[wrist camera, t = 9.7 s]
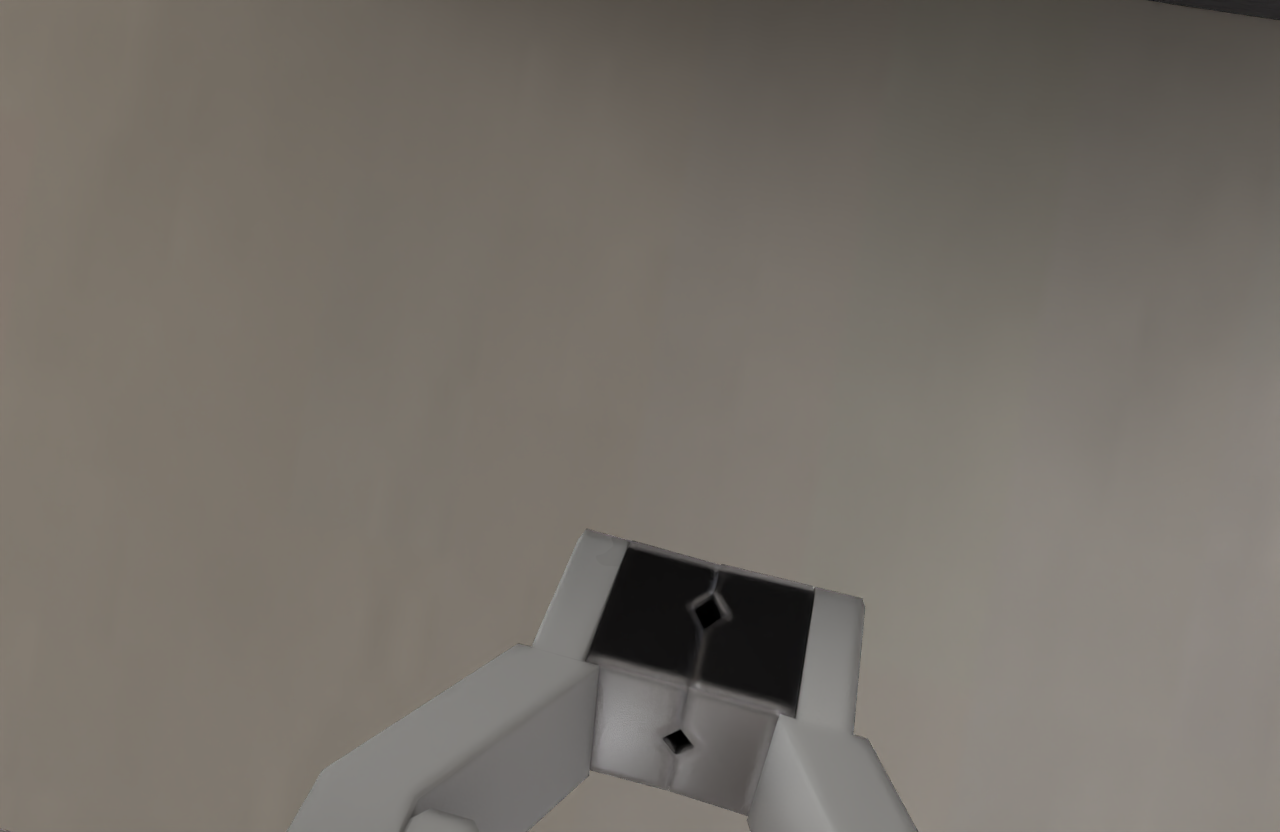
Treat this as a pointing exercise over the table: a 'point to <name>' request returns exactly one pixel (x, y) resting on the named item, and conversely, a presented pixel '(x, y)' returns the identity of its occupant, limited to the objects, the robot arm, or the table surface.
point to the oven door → (1235, 6)
